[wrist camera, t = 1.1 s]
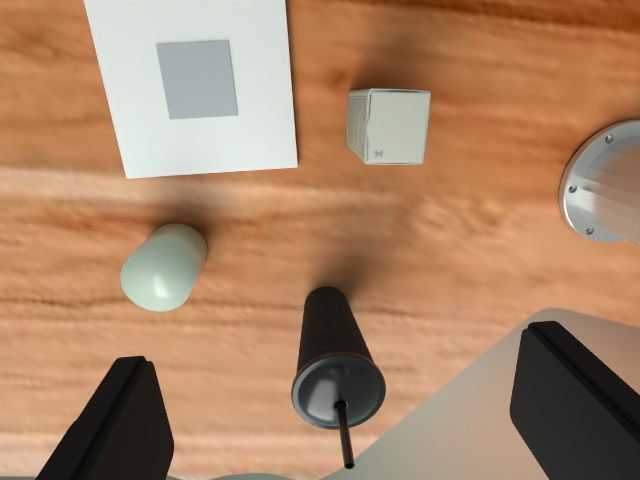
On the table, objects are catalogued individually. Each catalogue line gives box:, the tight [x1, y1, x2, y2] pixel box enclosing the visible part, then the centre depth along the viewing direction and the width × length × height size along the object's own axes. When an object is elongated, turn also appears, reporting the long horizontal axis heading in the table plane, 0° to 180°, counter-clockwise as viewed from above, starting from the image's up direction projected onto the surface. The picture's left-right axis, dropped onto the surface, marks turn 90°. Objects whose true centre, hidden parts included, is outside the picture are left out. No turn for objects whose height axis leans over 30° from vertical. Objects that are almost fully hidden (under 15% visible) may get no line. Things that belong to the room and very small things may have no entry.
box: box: [346, 88, 431, 165], centre depth 32 cm, size 5×4×11 cm
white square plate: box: [84, 0, 298, 179], centre depth 34 cm, size 16×16×1 cm
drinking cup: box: [291, 287, 386, 469], centre depth 35 cm, size 8×8×20 cm
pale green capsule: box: [120, 223, 208, 311], centre depth 37 cm, size 6×6×7 cm
